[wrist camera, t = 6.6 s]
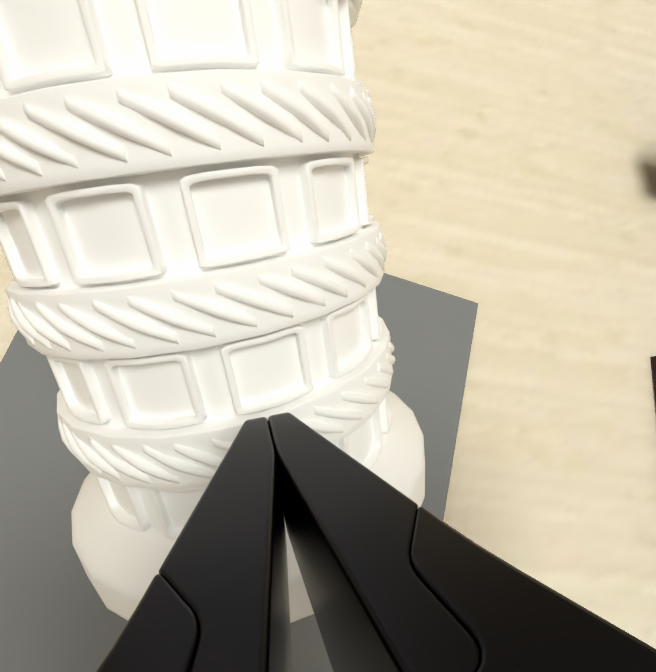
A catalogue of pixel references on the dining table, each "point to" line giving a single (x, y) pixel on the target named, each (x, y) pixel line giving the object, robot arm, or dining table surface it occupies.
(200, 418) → the decorative container
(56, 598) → the rubber mat
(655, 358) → the chocolate bar
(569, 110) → the dining table surface
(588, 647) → the robot arm
